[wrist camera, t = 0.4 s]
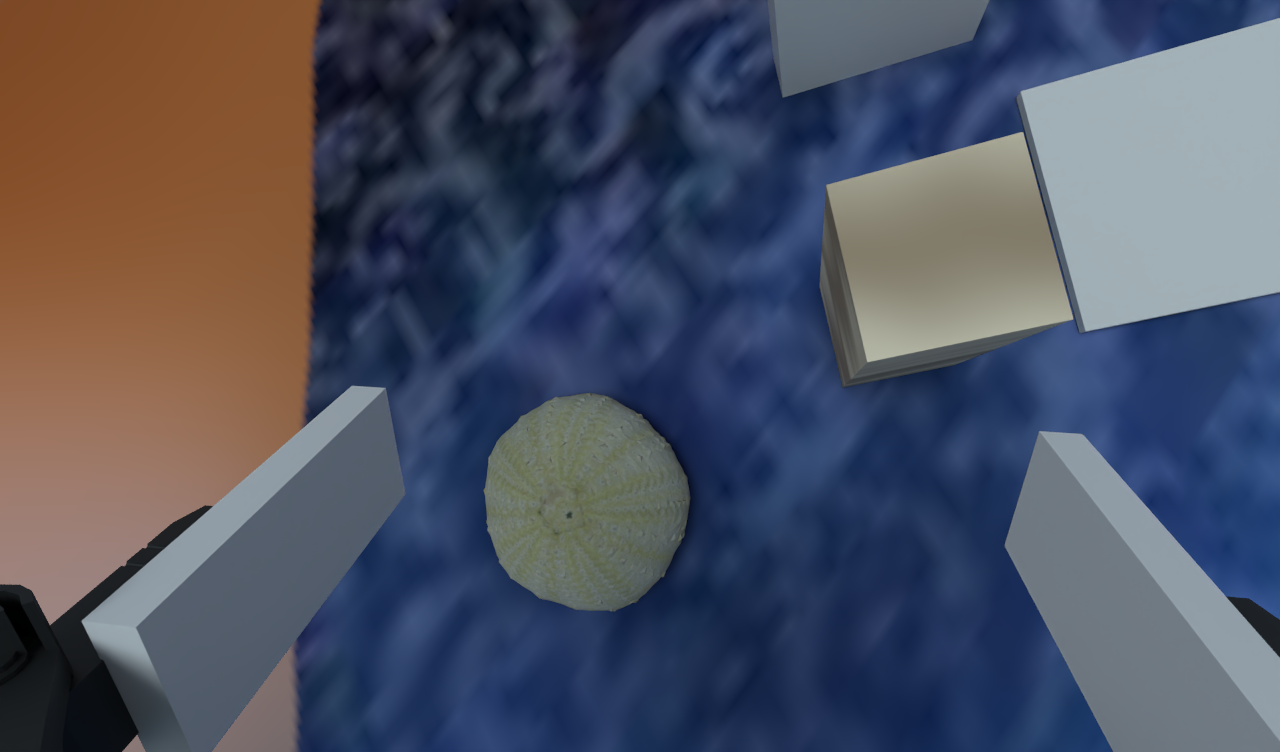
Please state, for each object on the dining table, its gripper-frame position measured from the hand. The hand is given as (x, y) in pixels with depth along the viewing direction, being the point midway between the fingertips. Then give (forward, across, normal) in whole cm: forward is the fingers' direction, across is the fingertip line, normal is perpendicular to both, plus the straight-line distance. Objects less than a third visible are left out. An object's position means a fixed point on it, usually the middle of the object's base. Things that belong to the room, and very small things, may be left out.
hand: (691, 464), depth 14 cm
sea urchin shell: (+14, +5, +11) cm, 18 cm away
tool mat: (+18, -18, -3) cm, 25 cm away
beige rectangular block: (+16, -7, +3) cm, 18 cm away
